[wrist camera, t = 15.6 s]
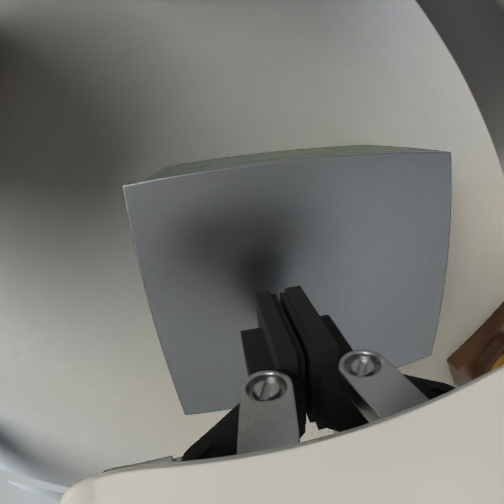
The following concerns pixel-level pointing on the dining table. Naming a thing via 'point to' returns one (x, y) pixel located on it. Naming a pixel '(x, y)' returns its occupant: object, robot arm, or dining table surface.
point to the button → (498, 362)
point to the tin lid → (291, 257)
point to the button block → (479, 350)
